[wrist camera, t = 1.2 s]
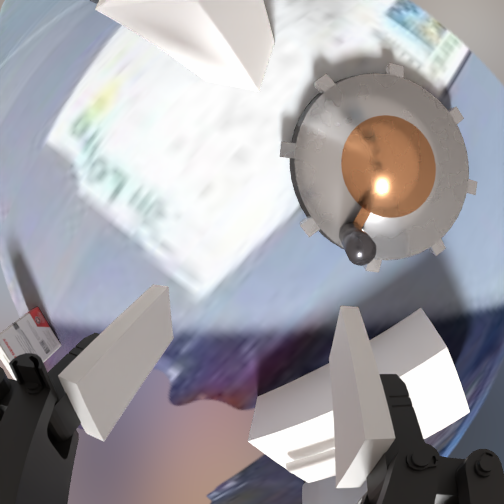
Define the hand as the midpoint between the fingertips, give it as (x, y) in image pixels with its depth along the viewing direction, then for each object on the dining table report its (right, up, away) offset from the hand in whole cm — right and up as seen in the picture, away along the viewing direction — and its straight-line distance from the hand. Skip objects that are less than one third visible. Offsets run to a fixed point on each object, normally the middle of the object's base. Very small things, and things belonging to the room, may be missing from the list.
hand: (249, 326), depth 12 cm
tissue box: (+15, -16, +23) cm, 32 cm away
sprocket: (+13, +11, +13) cm, 22 cm away
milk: (-1, +23, +13) cm, 26 cm away
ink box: (-38, -11, +31) cm, 50 cm away
